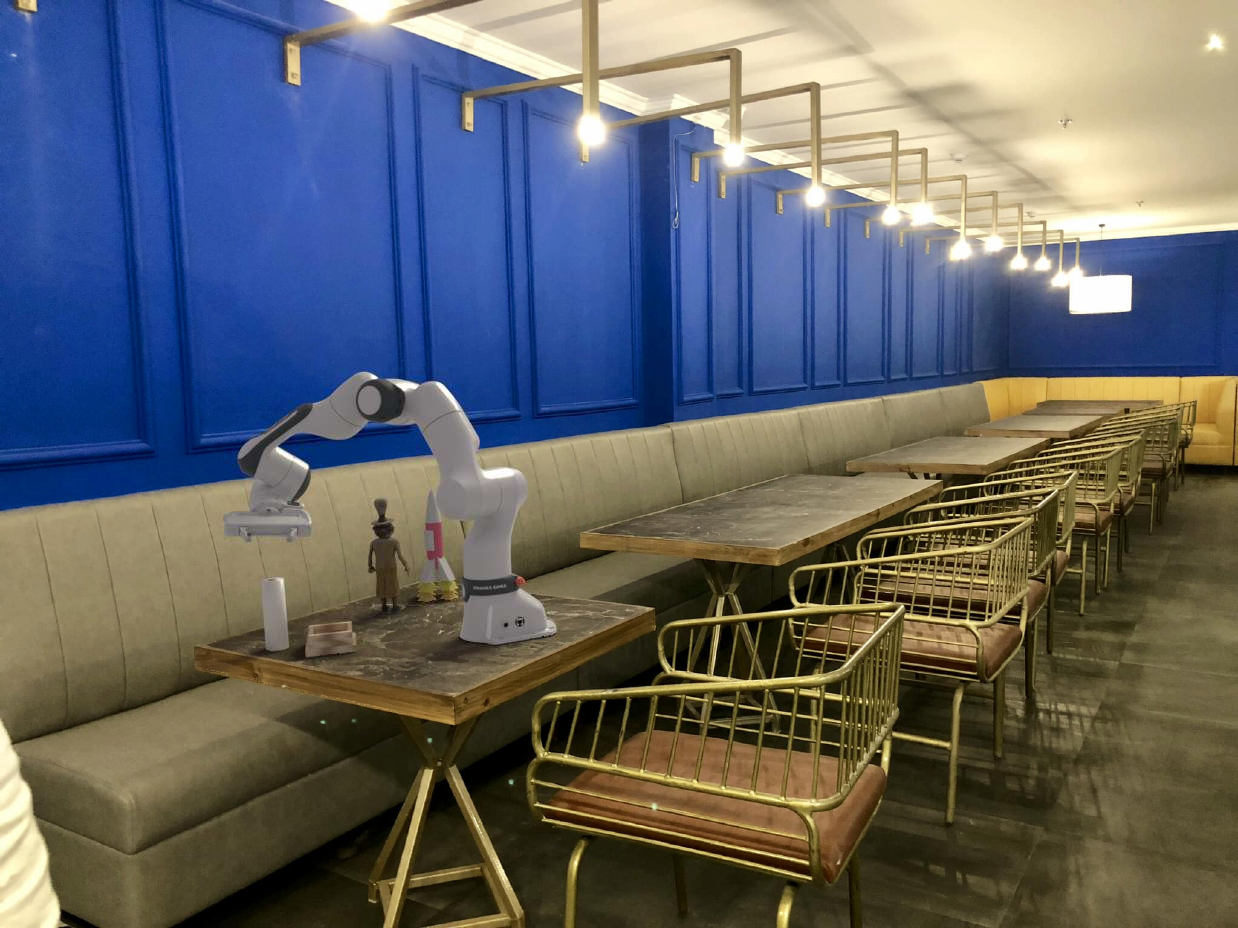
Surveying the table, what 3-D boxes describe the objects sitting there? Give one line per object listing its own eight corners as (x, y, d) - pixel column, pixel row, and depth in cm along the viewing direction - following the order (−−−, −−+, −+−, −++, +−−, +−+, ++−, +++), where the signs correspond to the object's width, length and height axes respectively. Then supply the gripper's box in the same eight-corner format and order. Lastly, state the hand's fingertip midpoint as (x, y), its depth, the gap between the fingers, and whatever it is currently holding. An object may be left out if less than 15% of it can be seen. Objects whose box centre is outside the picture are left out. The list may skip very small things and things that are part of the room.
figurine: (417, 605, 263) (411, 494, 260) (405, 615, 254) (398, 499, 251) (377, 605, 265) (370, 494, 261) (364, 615, 255) (356, 500, 252)
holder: (355, 638, 233) (354, 620, 233) (356, 651, 223) (355, 631, 222) (307, 644, 230) (305, 625, 230) (305, 657, 220) (304, 637, 219)
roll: (289, 643, 231) (284, 575, 229) (288, 649, 226) (283, 580, 224) (266, 646, 230) (261, 577, 228) (265, 652, 225) (259, 582, 223)
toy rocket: (435, 590, 280) (429, 485, 277) (468, 594, 274) (462, 487, 271) (406, 600, 270) (399, 491, 267) (439, 604, 264) (433, 493, 261)
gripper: (223, 501, 244) (222, 527, 232) (310, 503, 251) (313, 528, 239) (223, 524, 246) (221, 551, 234) (309, 525, 253) (312, 551, 242)
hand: (269, 539), depth 237 cm, fingers open, 8 cm apart
